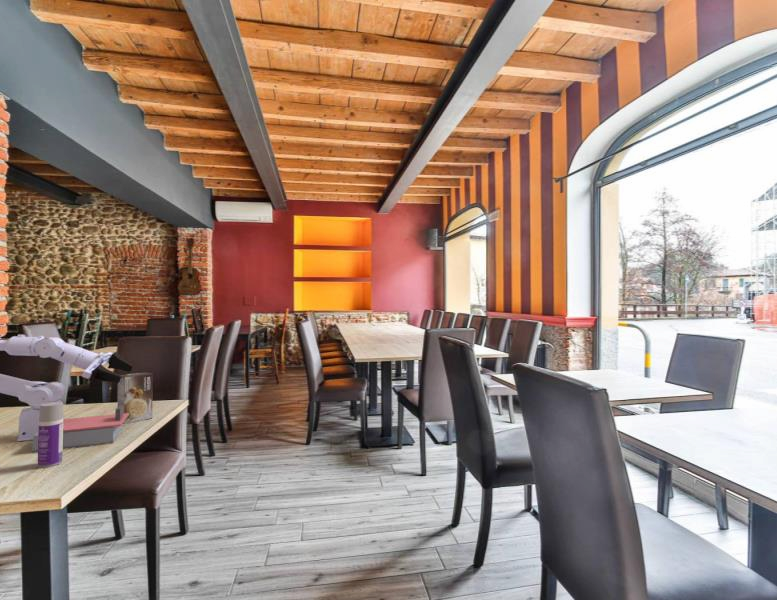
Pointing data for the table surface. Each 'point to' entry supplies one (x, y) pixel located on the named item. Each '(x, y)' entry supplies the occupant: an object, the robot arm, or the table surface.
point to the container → (50, 434)
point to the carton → (85, 437)
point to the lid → (95, 421)
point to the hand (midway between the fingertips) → (126, 374)
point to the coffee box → (136, 396)
